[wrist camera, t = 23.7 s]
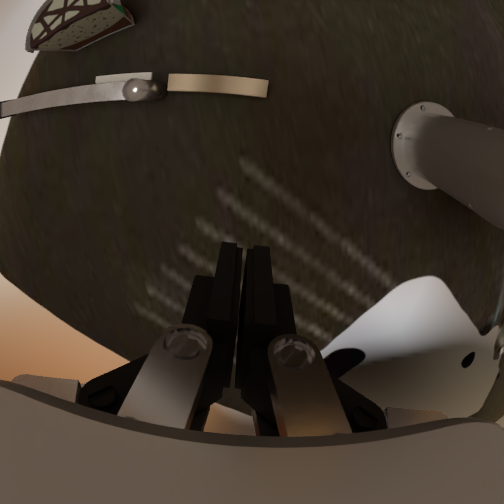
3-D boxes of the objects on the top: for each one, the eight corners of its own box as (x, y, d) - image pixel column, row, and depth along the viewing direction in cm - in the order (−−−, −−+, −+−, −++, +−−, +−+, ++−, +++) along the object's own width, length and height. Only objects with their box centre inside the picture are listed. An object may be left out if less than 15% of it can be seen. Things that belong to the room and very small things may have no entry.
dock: (284, -37, 21) (287, -47, 19) (265, 97, 31) (266, 97, 28) (196, -42, 21) (192, -52, 18) (174, 91, 30) (167, 90, 28)
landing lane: (172, -33, 21) (171, -34, 21) (152, 79, 29) (150, 79, 29) (116, -24, 21) (114, -25, 20) (97, 83, 29) (95, 83, 28)
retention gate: (22, 98, 28) (-13, 105, 21) (168, 81, 29) (145, 77, 22) (22, 113, 29) (-14, 122, 22) (166, 100, 31) (143, 100, 24)
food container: (141, -15, 22) (109, -41, 13) (146, 20, 25) (113, -1, 16) (64, 22, 23) (20, 12, 15) (67, 56, 26) (22, 52, 18)
